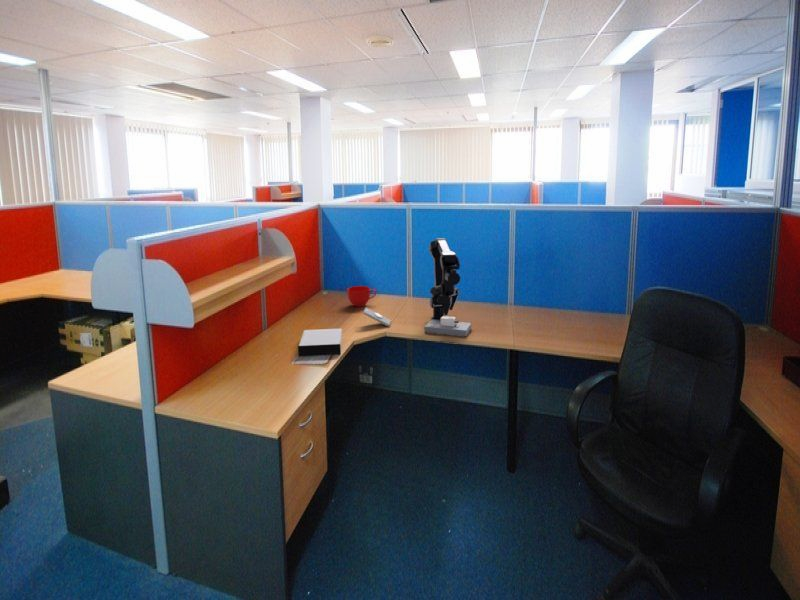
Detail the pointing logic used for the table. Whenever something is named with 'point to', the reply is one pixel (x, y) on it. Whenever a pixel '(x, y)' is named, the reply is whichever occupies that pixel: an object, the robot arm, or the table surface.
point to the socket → (448, 328)
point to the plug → (448, 321)
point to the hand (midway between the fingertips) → (448, 312)
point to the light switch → (377, 317)
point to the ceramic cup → (359, 295)
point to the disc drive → (320, 342)
